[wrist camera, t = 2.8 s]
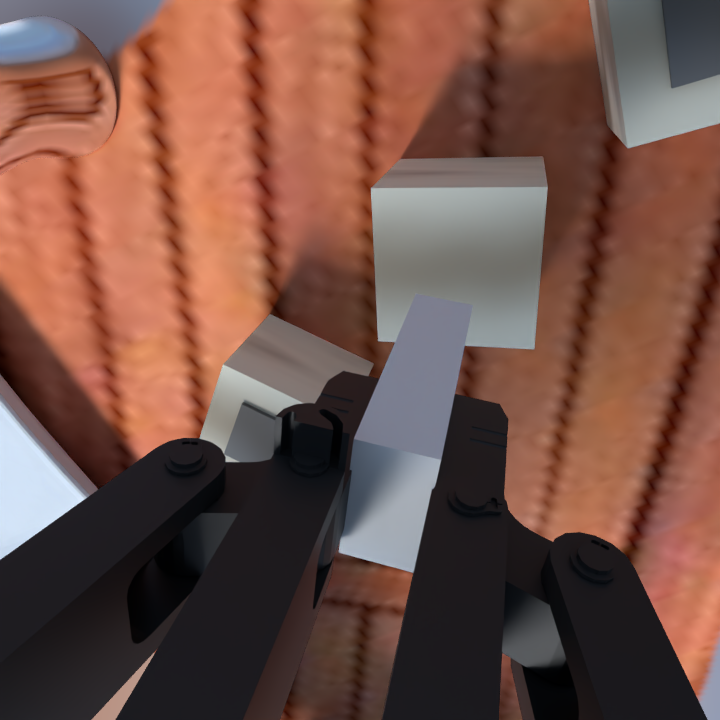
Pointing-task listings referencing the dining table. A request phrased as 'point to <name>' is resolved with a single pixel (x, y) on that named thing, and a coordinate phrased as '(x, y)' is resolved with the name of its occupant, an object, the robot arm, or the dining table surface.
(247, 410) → the marked block
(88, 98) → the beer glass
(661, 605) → the dining table surface
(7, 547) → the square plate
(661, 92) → the marked block
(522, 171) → the plain block
